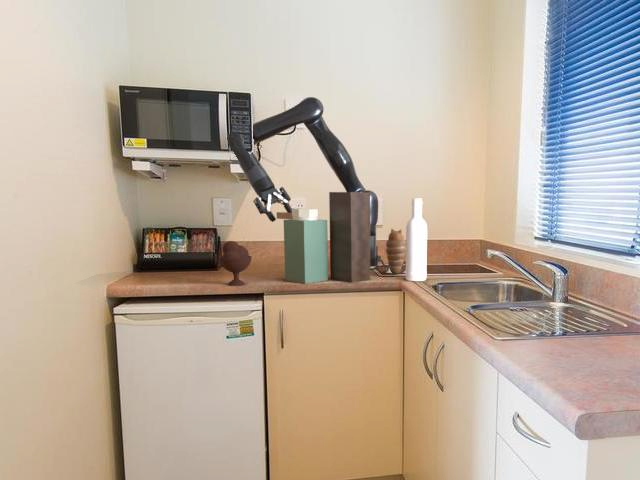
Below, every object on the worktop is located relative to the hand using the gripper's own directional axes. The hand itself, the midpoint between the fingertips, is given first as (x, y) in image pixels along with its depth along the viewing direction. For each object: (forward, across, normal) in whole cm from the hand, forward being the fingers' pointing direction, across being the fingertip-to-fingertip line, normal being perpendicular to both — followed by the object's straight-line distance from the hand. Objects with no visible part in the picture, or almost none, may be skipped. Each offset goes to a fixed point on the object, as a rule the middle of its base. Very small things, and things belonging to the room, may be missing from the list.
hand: (282, 216), depth 197 cm
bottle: (+46, +15, -30) cm, 57 cm away
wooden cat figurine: (+42, +21, -15) cm, 49 cm away
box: (+25, -11, -7) cm, 28 cm away
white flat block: (+4, -3, -11) cm, 12 cm away
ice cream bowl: (+14, -31, +1) cm, 34 cm away
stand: (+33, 0, -15) cm, 36 cm away
